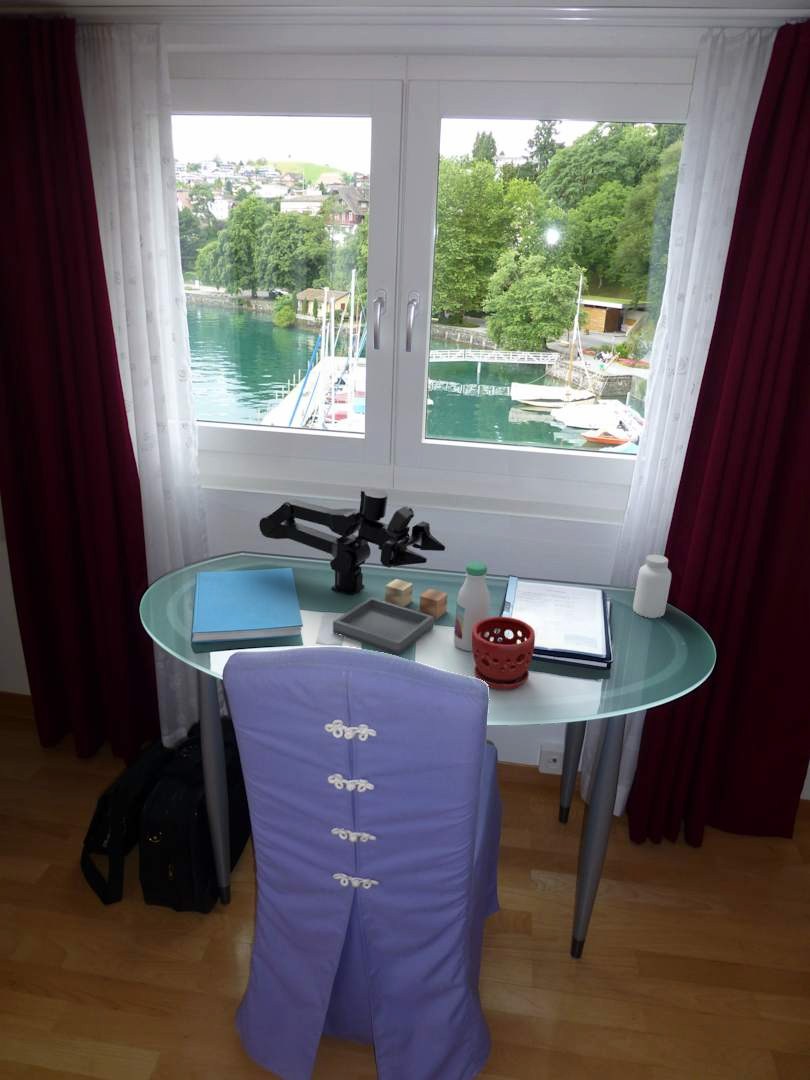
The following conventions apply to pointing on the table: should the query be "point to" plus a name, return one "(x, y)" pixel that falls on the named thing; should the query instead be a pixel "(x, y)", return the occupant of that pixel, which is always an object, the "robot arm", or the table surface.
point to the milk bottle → (471, 605)
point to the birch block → (399, 592)
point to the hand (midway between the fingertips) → (435, 554)
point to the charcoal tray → (383, 625)
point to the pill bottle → (652, 587)
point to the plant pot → (502, 652)
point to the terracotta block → (433, 603)
